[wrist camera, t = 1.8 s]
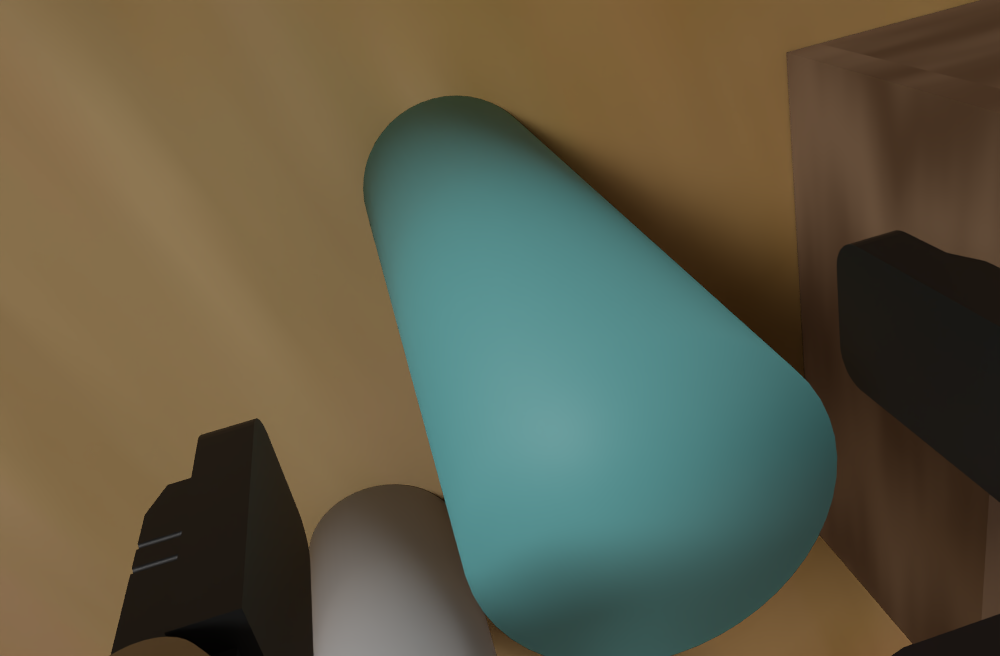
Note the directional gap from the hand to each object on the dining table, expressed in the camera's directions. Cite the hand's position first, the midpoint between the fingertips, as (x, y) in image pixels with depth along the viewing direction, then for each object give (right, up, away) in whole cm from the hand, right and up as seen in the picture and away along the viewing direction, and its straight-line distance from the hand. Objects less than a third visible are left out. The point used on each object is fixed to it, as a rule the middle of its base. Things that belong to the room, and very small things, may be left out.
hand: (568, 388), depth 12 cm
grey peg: (-4, -5, +11) cm, 13 cm away
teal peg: (-2, +4, +8) cm, 9 cm away
